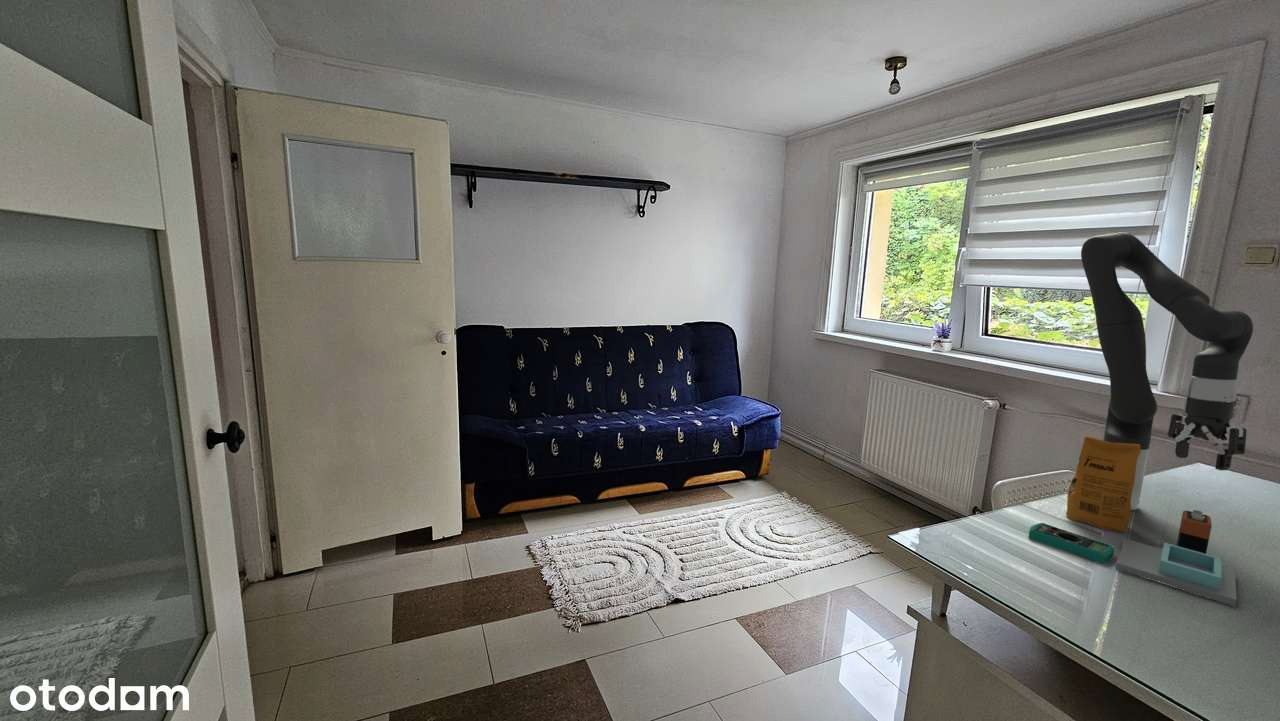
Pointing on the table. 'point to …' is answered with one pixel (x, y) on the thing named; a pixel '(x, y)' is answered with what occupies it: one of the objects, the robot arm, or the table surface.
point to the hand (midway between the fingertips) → (1201, 463)
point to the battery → (1194, 531)
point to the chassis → (1180, 569)
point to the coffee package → (1103, 484)
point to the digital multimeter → (1072, 542)
